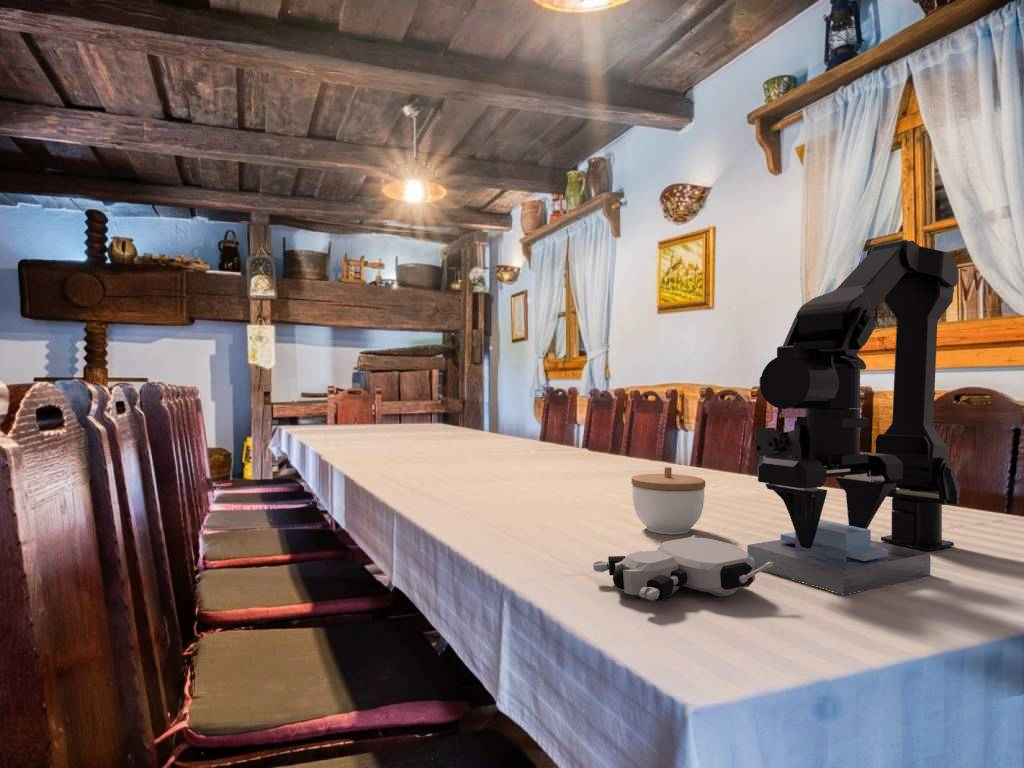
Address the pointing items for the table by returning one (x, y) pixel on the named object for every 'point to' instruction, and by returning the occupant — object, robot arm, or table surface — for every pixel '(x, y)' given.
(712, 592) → the robot toy
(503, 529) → the table surface
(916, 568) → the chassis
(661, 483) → the lidded jar
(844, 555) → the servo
